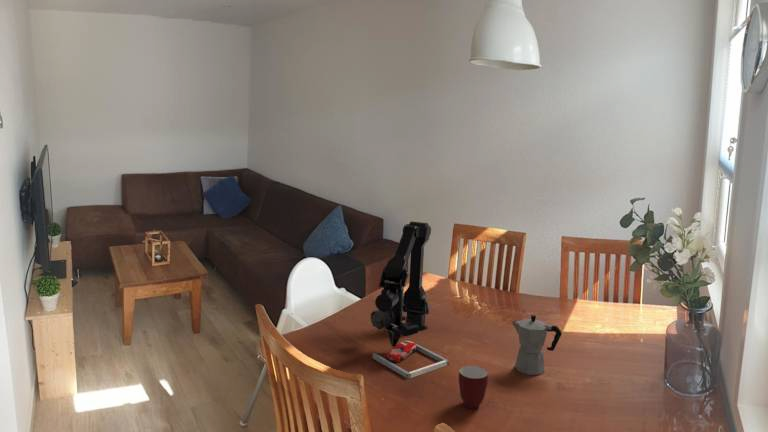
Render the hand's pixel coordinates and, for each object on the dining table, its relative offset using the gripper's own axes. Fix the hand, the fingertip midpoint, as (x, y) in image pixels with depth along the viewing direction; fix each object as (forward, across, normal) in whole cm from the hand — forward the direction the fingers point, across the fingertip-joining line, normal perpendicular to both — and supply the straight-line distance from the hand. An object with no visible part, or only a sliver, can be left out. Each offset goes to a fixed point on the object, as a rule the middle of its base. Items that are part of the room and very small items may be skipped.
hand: (393, 346), depth 211 cm
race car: (+3, +3, +1) cm, 4 cm away
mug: (+2, +40, -3) cm, 40 cm away
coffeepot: (+2, +36, +28) cm, 46 cm away
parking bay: (+2, +9, 0) cm, 9 cm away
